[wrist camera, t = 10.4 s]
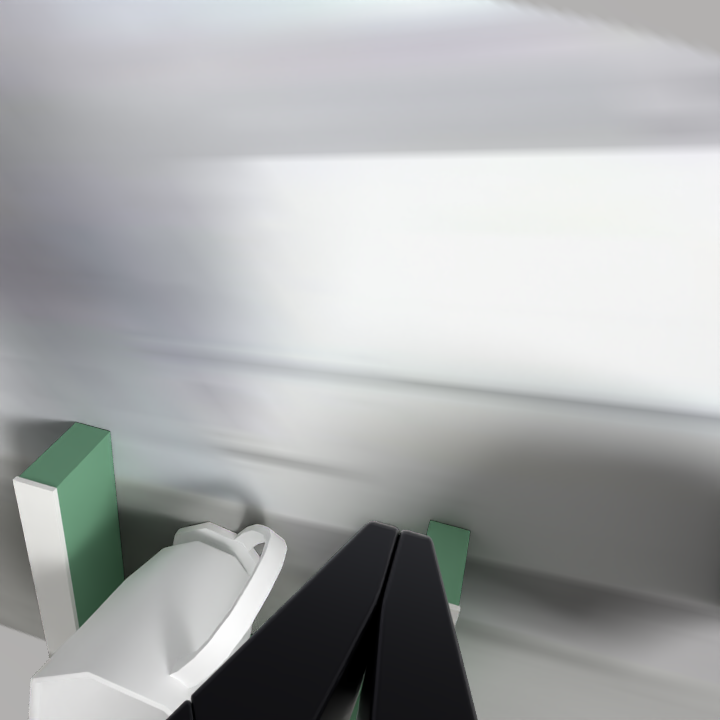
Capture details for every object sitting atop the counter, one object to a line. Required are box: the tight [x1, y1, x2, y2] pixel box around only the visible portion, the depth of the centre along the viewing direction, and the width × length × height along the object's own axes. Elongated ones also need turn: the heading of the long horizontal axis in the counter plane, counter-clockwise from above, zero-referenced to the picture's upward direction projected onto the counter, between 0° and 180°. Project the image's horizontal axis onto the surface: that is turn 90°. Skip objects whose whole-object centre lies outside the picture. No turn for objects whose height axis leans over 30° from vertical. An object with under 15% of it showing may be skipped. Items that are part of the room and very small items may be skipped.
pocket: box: [13, 422, 470, 720], centre depth 27 cm, size 16×12×4 cm
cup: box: [29, 522, 287, 720], centre depth 25 cm, size 7×10×8 cm
